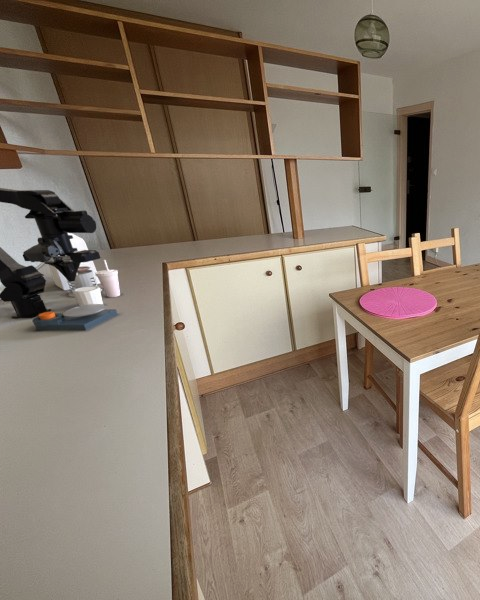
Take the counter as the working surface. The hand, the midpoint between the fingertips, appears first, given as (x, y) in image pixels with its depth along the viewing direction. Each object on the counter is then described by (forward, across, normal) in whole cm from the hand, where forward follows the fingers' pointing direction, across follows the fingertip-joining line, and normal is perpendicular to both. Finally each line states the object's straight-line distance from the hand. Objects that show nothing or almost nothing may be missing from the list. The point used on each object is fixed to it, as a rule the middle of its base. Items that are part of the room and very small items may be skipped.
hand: (72, 281), depth 102 cm
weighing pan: (+8, +8, -6) cm, 13 cm away
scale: (+11, +6, -8) cm, 15 cm away
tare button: (+8, +2, -12) cm, 14 cm away
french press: (+11, -17, +20) cm, 28 cm away
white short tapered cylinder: (+11, -1, +4) cm, 12 cm away
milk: (+11, -29, +29) cm, 42 cm away
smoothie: (+11, -3, +16) cm, 20 cm away
